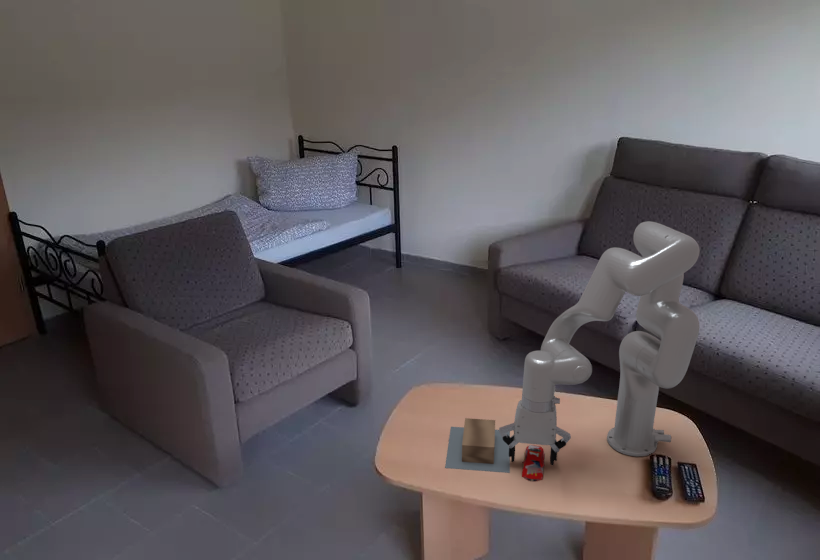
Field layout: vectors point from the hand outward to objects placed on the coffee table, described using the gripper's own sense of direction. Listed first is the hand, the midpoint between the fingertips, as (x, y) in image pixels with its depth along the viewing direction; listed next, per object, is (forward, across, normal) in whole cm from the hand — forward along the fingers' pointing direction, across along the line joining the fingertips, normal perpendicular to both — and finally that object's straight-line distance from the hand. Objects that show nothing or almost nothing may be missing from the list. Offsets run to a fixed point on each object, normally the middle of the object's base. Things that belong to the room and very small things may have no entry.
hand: (532, 460), depth 167 cm
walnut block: (+2, +13, -5) cm, 14 cm away
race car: (+3, 0, 0) cm, 3 cm away
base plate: (+3, +13, -5) cm, 15 cm away
